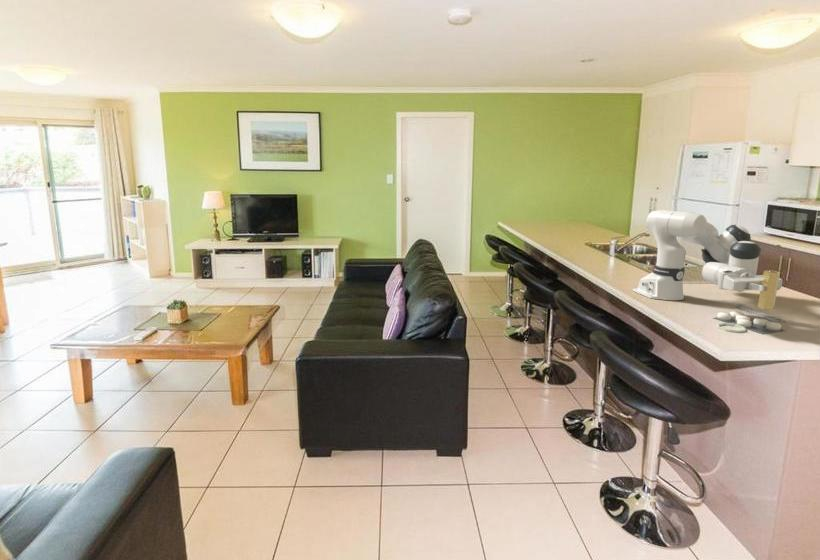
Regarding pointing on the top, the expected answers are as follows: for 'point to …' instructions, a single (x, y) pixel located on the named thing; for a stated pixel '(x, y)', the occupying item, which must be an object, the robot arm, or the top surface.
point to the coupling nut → (769, 289)
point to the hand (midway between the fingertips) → (771, 288)
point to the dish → (730, 329)
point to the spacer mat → (750, 322)
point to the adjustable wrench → (760, 314)
